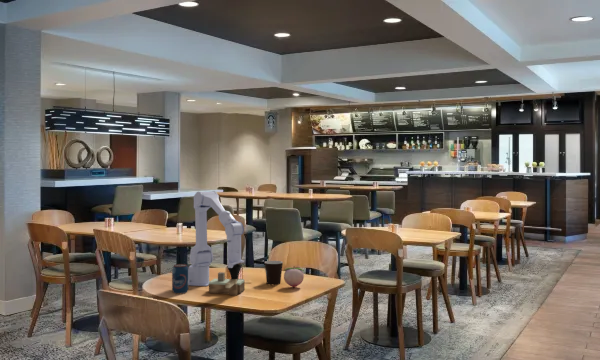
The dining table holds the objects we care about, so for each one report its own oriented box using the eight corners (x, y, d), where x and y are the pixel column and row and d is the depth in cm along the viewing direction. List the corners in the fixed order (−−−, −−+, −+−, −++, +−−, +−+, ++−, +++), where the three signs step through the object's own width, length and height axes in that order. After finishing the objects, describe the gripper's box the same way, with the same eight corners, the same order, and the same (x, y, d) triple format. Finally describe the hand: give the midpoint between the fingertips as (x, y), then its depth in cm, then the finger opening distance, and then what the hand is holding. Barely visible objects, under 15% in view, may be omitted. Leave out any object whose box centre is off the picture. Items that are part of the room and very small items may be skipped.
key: (224, 288, 239) (224, 283, 239) (230, 282, 249) (230, 278, 249) (230, 288, 239) (230, 283, 239) (237, 283, 249) (237, 278, 249)
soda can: (172, 294, 249) (171, 266, 249) (172, 290, 256) (172, 264, 256) (188, 293, 251) (188, 266, 250) (188, 290, 258) (188, 263, 257)
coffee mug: (280, 285, 267) (280, 264, 267) (262, 284, 269) (262, 263, 268) (286, 280, 278) (286, 259, 278) (268, 279, 280) (268, 259, 280)
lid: (208, 285, 251) (208, 274, 251) (214, 281, 259) (214, 270, 259) (239, 286, 249) (239, 275, 249) (244, 282, 257) (244, 271, 257)
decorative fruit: (285, 289, 258) (285, 267, 258) (282, 286, 266) (282, 264, 266) (305, 289, 260) (305, 267, 259) (302, 285, 268) (302, 263, 267)
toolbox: (207, 294, 249) (207, 283, 249) (215, 288, 262) (215, 277, 262) (238, 295, 247) (238, 285, 247) (245, 289, 260) (245, 278, 260)
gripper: (239, 253, 242) (239, 285, 242) (247, 248, 256) (247, 278, 257) (223, 252, 243) (223, 284, 243) (232, 247, 257) (232, 277, 258)
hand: (234, 281), depth 250 cm, fingers closed
